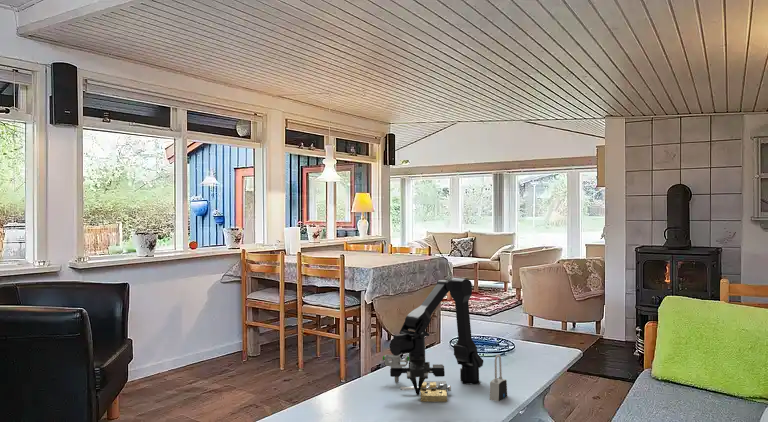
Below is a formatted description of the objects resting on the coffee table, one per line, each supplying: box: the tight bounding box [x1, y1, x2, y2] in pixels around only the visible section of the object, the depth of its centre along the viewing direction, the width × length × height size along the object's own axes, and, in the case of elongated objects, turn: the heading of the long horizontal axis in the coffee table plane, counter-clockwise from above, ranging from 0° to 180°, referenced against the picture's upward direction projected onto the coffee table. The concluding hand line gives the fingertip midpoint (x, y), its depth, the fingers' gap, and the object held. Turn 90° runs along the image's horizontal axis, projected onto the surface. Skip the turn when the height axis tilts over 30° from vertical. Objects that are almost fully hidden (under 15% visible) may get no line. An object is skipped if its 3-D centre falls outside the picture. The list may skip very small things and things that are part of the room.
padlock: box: [489, 354, 508, 402], centre depth 200 cm, size 7×4×15 cm, turn 141°
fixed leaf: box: [400, 380, 452, 393], centre depth 210 cm, size 18×10×4 cm, turn 87°
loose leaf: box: [420, 382, 448, 403], centre depth 202 cm, size 9×10×4 cm
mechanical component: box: [382, 354, 409, 384], centre depth 221 cm, size 3×10×10 cm, turn 79°
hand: (417, 395), depth 202 cm, fingers closed
